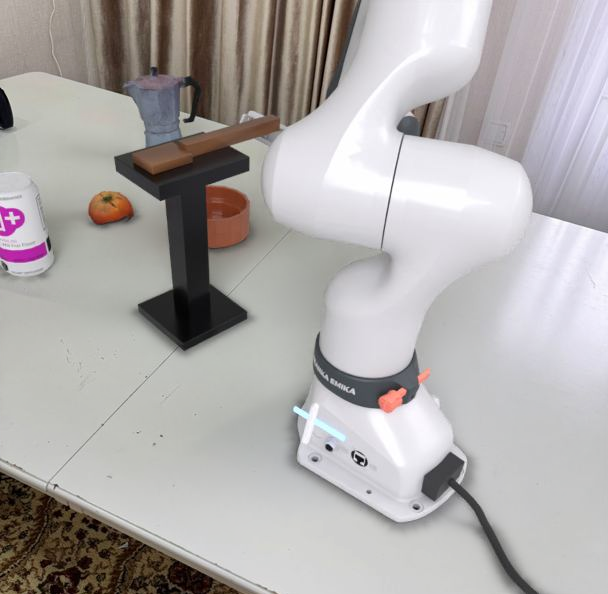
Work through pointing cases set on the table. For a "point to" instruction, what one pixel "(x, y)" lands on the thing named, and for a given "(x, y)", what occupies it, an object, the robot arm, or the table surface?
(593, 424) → the table surface
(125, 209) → the tomato
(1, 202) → the supplement can
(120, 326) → the table surface
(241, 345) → the table surface
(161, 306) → the black plant stand
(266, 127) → the wooden spatula
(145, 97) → the moka pot
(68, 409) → the table surface
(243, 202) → the bowl
